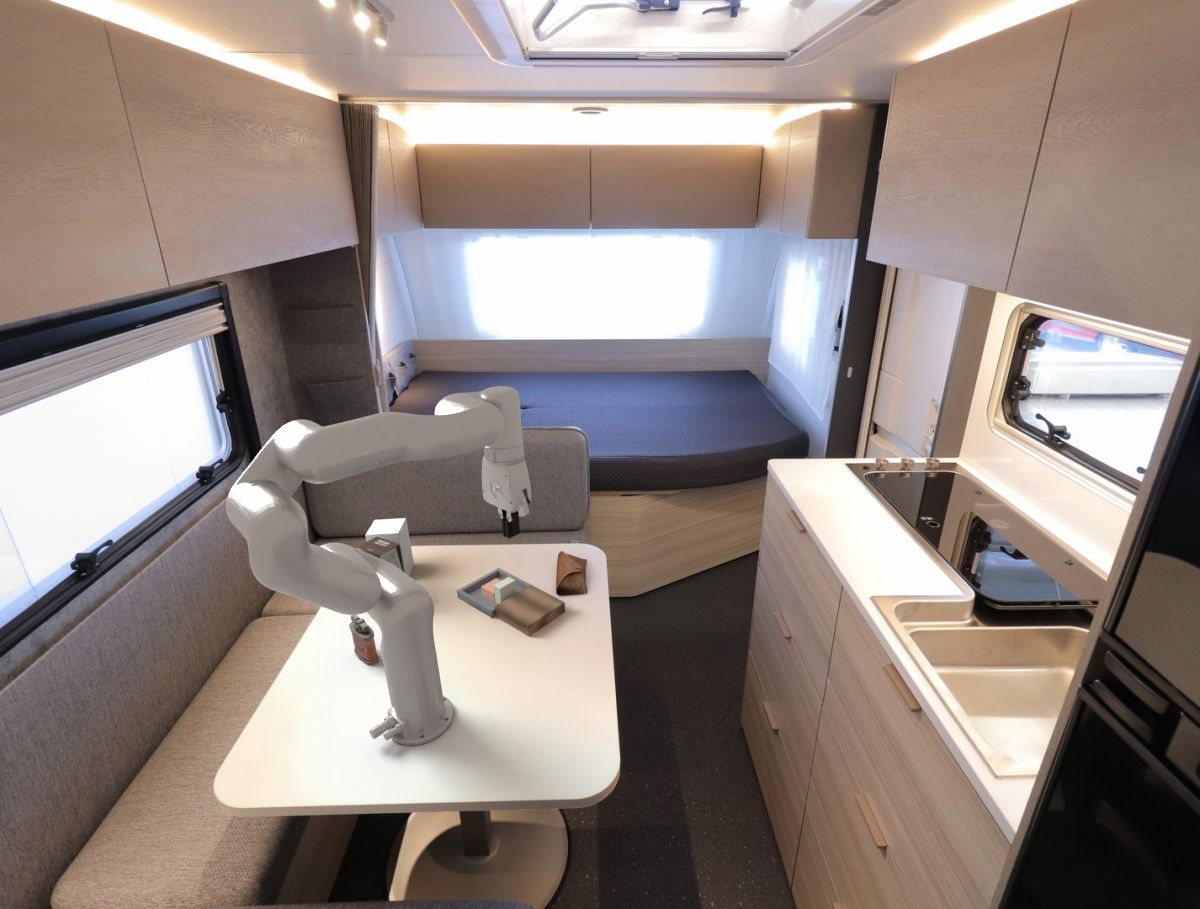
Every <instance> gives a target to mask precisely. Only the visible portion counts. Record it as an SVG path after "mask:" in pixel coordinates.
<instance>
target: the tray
mask: <svg viewBox="0 0 1200 909" xmlns="http://www.w3.org/2000/svg"><path fill="white" fill-rule="evenodd" d="M507 577H510V578H512V579H514V580H515V585H516V594H517V593H518V592H520V591H522V590H523V589H525V588H527V587H529V586H530V585H532V586H534V585H533V584H530V583H529V582H527V581H524V580H523V579H521V578H519V577H517V576H515V575H513V574H511V573H509V572H507V571H506V570H504V569H501V568H500V567H498V568H495V569H494V570H492V571H490V572H488V573H487V574H485V575H483V576H481V577H479V578H477V579H476V580H474V581H472V582H470V583H468V584H466V585H464V586H463V587H461V588H459V589H458V590H456V597H457V598H458V599H459V600H461V601H463V602H464V603H466V604H468V605H469V606H471V607H473V608H474V609H476V610H478V611H479V612H481V613H483V614H484V615H486V616H488V617H490V618H491V619H493V618H496V611H495V606H497V605H498V603H496V602H494V601H492V600H490V599H488V598H487V597H485V596H483V595H482V590H481V586H483V585H485V584H487V583H488V582H490V581H492V580H494V579H496V578H497V579H499V580H500V581H502V580H504V579H506V578H507ZM514 595H515V594H514ZM511 597H512V596H511ZM509 598H510V597H509ZM506 600H507V599H506ZM504 601H505V600H504ZM501 603H502V602H501ZM499 604H500V603H499Z"/></svg>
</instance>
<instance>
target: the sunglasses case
mask: <svg viewBox="0 0 1200 909" xmlns="http://www.w3.org/2000/svg"><path fill="white" fill-rule="evenodd" d="M587 562H588V559H586V558H581V557H579V556H575V555H572V554H569V553H566V552H564V551H563V550H562V551H559V552H558V555H557V561H556V576H555V578H556V579H555V593H556V595H557V596H558V597H562V596H563V597H564V596H576V595H577V596H578V595H587V594H588V587H587V579H586V578H587V576H586V574H587V573H586V572H587V571H586V569H587Z"/></svg>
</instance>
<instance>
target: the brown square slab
mask: <svg viewBox="0 0 1200 909" xmlns="http://www.w3.org/2000/svg"><path fill="white" fill-rule="evenodd" d="M532 585H533V584H531V585H530V586H529V587H527V588H525V589H523V590H522V591H520V592H518V593H517V594H515V595H513V596H512V597H510V598H508V599H507V600H505V601H503V602H502V603H500V604H498V605H497V606H495V611H496V616H495V618H498V619H499V620H501V621H502V622H504V623H506V624H508V625H509V626H510V627H513V628H514V629H516V630H518V631H520V632H521V633H523V634H524V635H526V636H528V637H531V636H532V635H533V634H534V635H535V633H537V632H538V631H540V630H541V629H543V628H544V627H545V626H547V625H549V624H550V623H552V622H554V621H555V620H556V619H558V618H559V617H561V616H562V615H564V614H565V613H566V604H565V603H566V602H565V601H563V600H561V599H559V598H557V597H555V596H554V595H552V594H550V593H548V592H546V591H544V590H542V589H540V588H538V587H537V586H534V585H533V586H532Z"/></svg>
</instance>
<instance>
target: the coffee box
mask: <svg viewBox="0 0 1200 909" xmlns="http://www.w3.org/2000/svg"><path fill="white" fill-rule="evenodd" d="M356 549H359V550H361V551H363V552H366V553H368V554H371V555H373V556H375V557H378V558H380V559H383V560H385V561H387V562H389V563H391V564H393V565H395V566H396V567H398V568H399V569H400V570H401V571H403V572H404V567H403V561H402V555H401V549H400V544H397V543H394V542H391V541H389V540H386V539H383V538H380V537H375V538H373V539H371V540H369V541H365V542H364V543H362V544H360V545H359V546H357V547H356Z"/></svg>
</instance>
